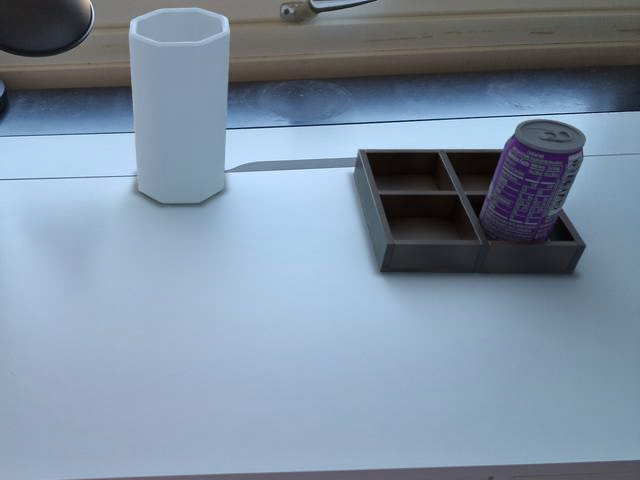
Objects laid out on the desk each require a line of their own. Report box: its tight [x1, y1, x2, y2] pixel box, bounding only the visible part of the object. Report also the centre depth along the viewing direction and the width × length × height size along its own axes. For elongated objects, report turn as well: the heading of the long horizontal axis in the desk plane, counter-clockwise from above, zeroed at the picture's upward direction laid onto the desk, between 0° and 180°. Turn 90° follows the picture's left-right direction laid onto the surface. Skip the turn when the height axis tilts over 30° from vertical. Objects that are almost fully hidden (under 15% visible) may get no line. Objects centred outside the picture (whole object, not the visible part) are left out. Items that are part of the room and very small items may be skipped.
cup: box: [128, 7, 231, 205], centre depth 79 cm, size 11×11×18 cm
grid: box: [353, 148, 587, 275], centre depth 77 cm, size 19×19×4 cm
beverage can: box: [478, 118, 587, 241], centre depth 70 cm, size 7×7×12 cm
